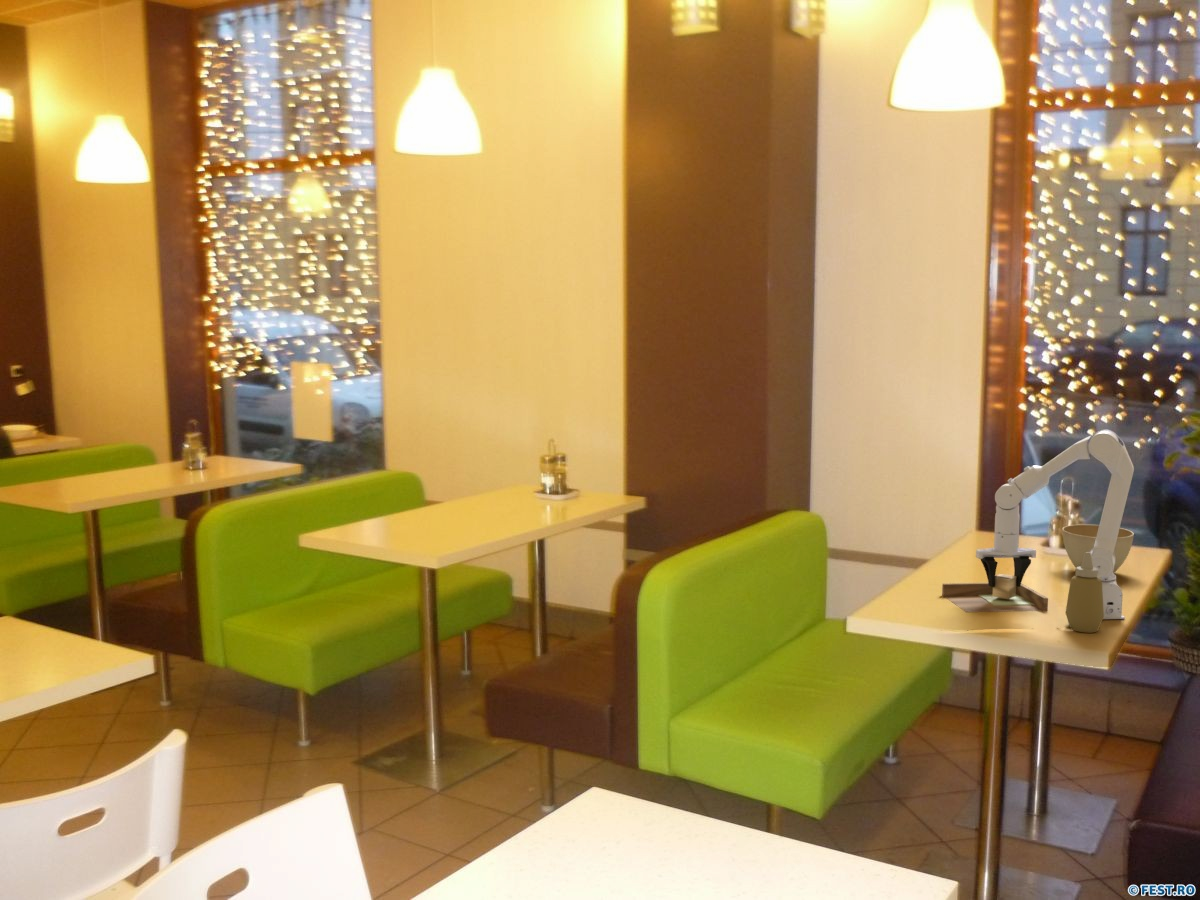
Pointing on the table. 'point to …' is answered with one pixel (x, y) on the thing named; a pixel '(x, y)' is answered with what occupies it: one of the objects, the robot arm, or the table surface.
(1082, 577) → the squeeze bottle
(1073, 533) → the beige bowl
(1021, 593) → the arena
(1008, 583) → the block
